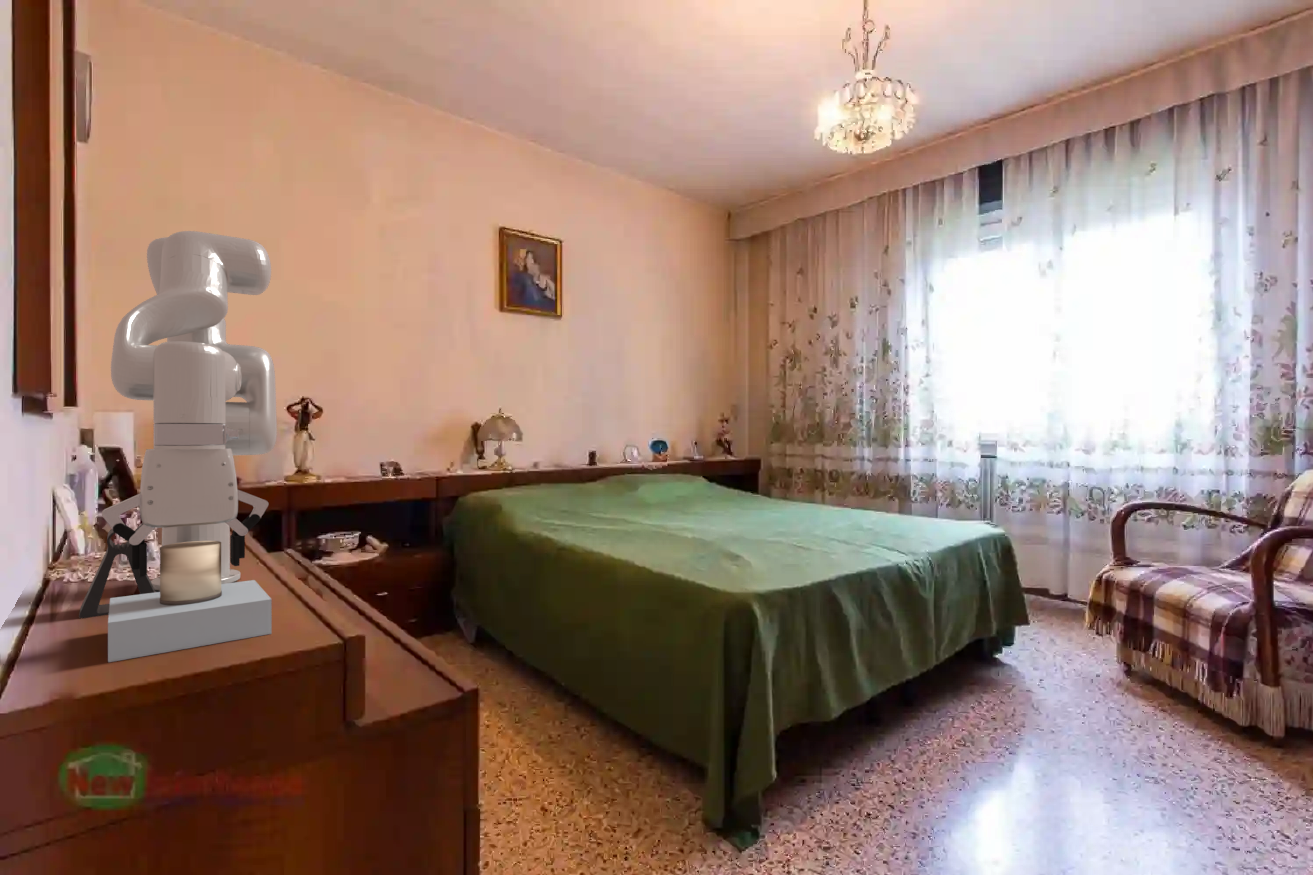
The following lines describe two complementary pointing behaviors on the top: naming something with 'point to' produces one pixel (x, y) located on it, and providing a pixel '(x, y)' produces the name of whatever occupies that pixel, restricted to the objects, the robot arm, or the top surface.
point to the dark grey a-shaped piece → (96, 589)
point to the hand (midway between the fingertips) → (190, 569)
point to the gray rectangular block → (186, 621)
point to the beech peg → (190, 572)
